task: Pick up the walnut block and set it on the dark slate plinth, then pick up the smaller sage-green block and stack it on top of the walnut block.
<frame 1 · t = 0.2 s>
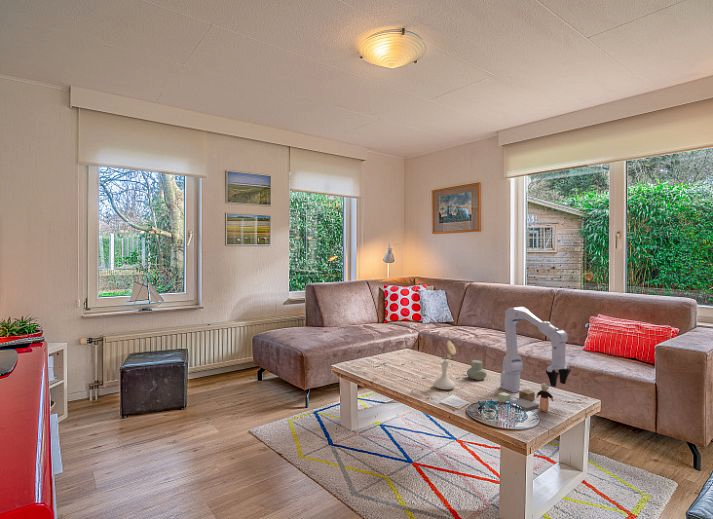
hand: (558, 384, 190), 10 cm above the table, tool pointing down, fingers open, 7 cm apart
sage block: (504, 402, 194), on the table
air freshener: (476, 379, 231), on the table
plinth: (524, 406, 189), on the table
grandmother figurine: (544, 411, 183), on the table
flower in vase: (445, 388, 215), on the table
walnut block: (526, 399, 198), on the table
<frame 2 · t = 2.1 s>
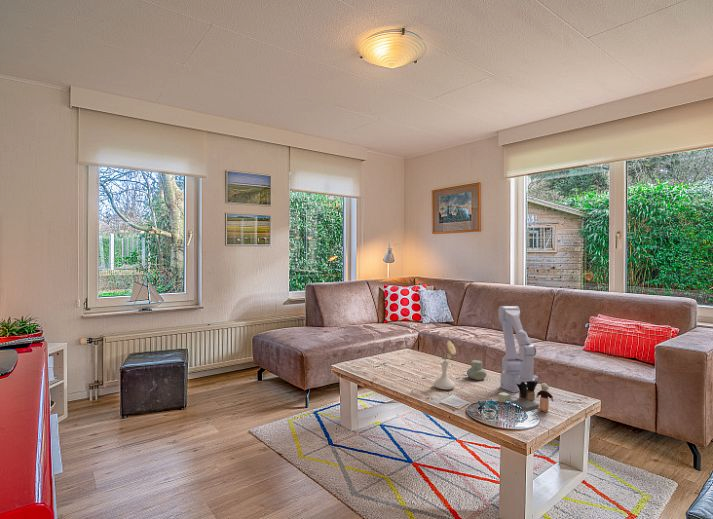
hand: (526, 396, 198), 1 cm above the table, tool pointing down, fingers closed on walnut block, 5 cm apart
walnut block: (526, 399, 198), on the table, touching gripper
everything else where it was.
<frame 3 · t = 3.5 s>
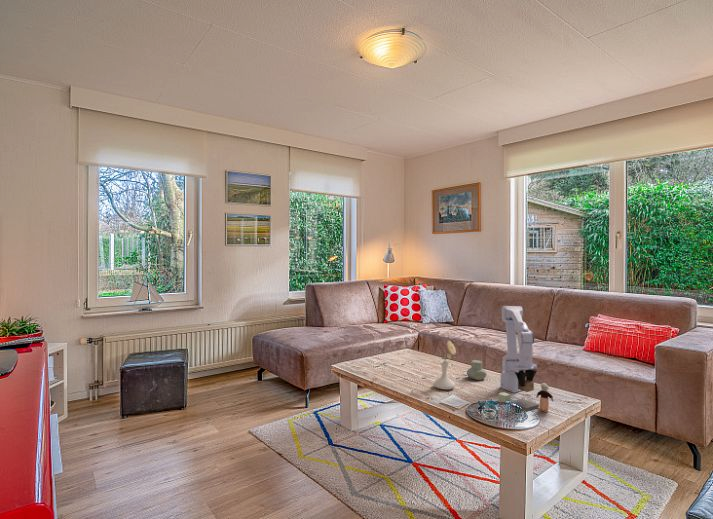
hand: (525, 385, 191), 9 cm above the table, tool pointing down, fingers closed on walnut block, 5 cm apart
walnut block: (525, 389, 191), point 7 cm above the table, touching gripper
everything else where it was.
when the fingers open (4 cm above the table, at t = 5.1 s): walnut block stays where it is, resting on plinth.
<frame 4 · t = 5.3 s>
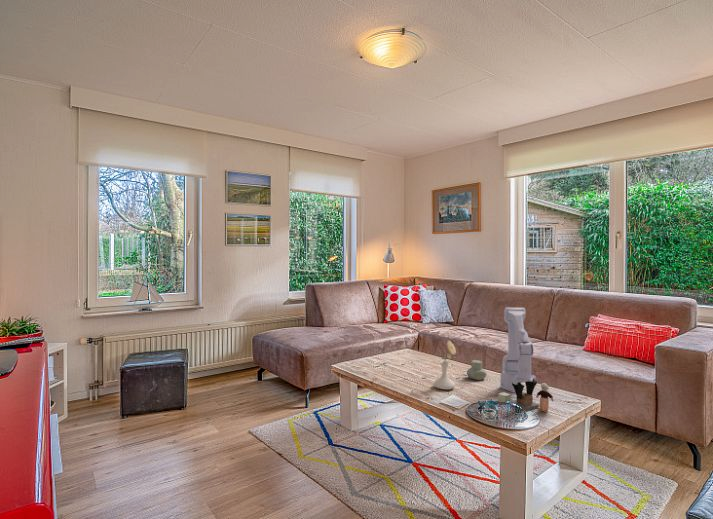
hand: (524, 397, 189), 4 cm above the table, tool pointing down, fingers open, 7 cm apart
walnut block: (524, 403, 189), point 1 cm above the table, touching plinth
everything else where it was.
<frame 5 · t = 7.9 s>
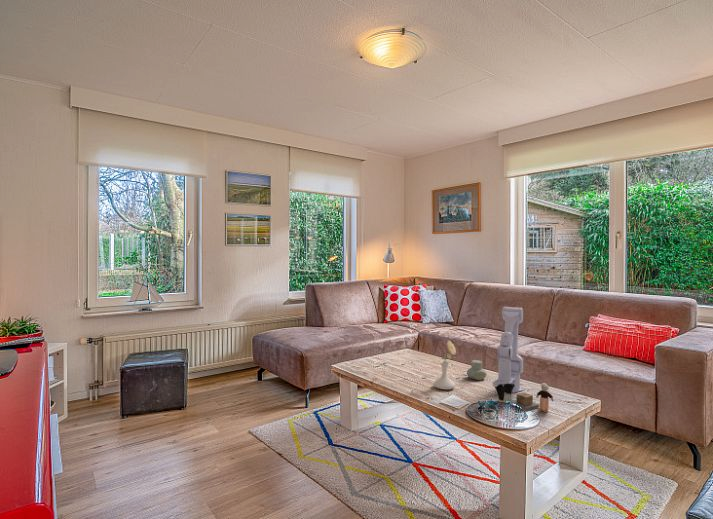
hand: (504, 399, 194), 1 cm above the table, tool pointing down, fingers closed on sage block, 4 cm apart
sage block: (504, 402, 194), on the table, touching gripper
everything else where it was.
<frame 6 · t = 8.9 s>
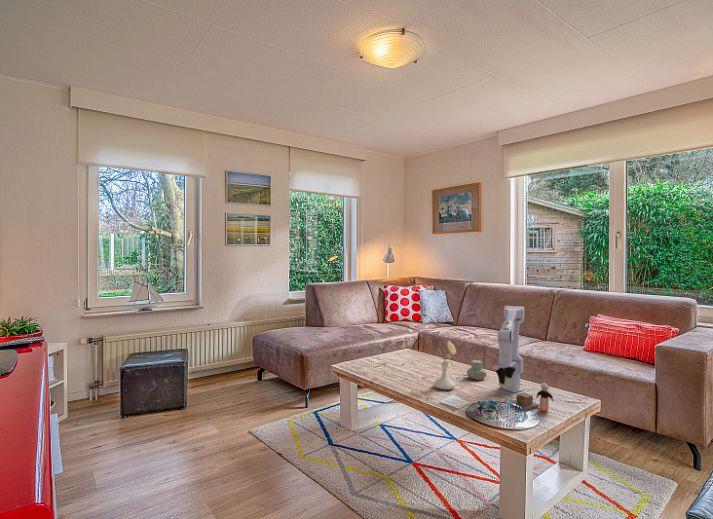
hand: (505, 382, 194), 9 cm above the table, tool pointing down, fingers closed on sage block, 4 cm apart
sage block: (505, 385, 194), point 8 cm above the table, touching gripper
everything else where it was.
when the fingers open (8 cm above the table, at t = 10.2 s): sage block stays where it is, resting on walnut block.
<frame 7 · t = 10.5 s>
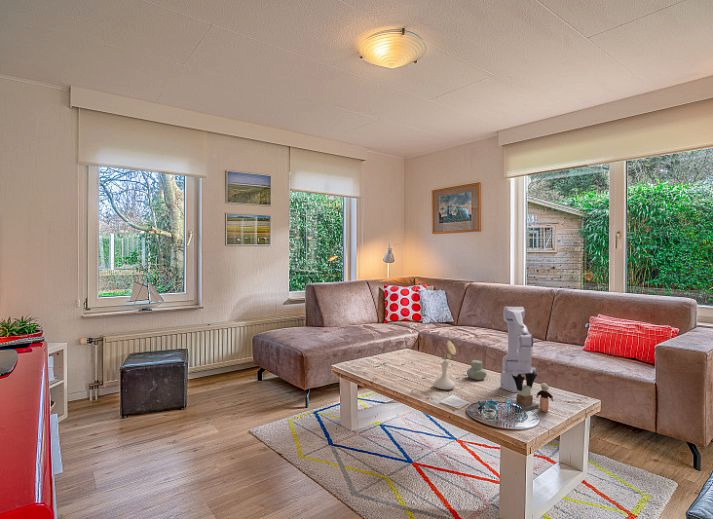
hand: (524, 389, 189), 8 cm above the table, tool pointing down, fingers open, 7 cm apart
sage block: (524, 394, 189), point 5 cm above the table, touching walnut block
walnut block: (524, 403, 189), point 1 cm above the table, touching plinth, sage block
everything else where it was.
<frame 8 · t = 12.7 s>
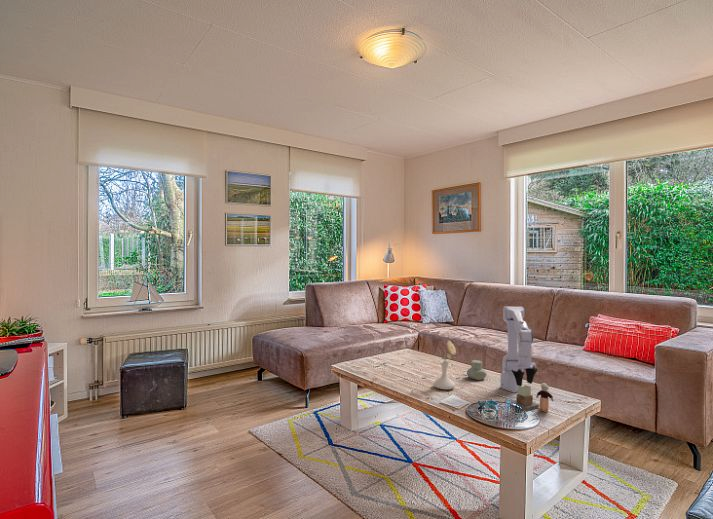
hand: (524, 384, 189), 10 cm above the table, tool pointing down, fingers open, 7 cm apart
nothing on the table moved.
at the end: walnut block 0.2 cm off-centre on the plinth, point 1.5 cm above the plinth's base; sage block 0.2 cm off-centre on the walnut block, point 4.0 cm above the walnut block's base; sage block tilted 0° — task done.
